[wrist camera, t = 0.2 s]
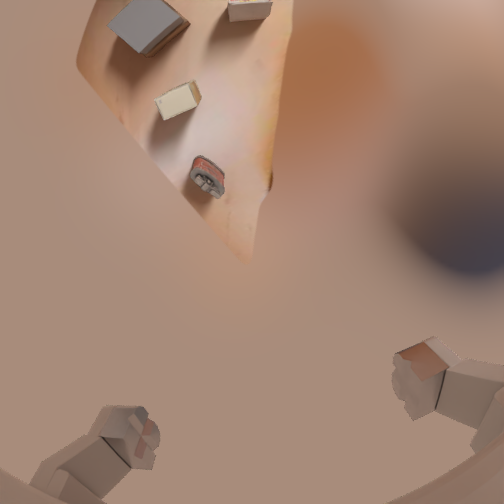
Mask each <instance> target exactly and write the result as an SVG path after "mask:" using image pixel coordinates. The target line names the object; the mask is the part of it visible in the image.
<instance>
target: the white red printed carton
mask: <svg viewBox="0 0 504 504" xmlns="http://www.w3.org/2000/svg"><path fill="white" fill-rule="evenodd" d="M269 1H272V0H228V14H229V21H230V22H235V21H245V20H259V19H266V18H267V17H268V16H269V15H270V11H271V6H272V3H273V2H269Z"/></svg>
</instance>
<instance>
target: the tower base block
mask: <svg viewBox="0 0 504 504" xmlns="http://www.w3.org/2000/svg"><path fill="white" fill-rule="evenodd" d="M161 1H162V2H164V3H165V4H166V5H167V6H168V7H170V8H171V9H172V10H173V11H174V12H175V13H177V14H178V15H179V16H180V17H181V18H182V19H183V20H184V21H183V22H182V23H181V24H180V25H178V26H177V27H176V28H175V29H174V30H172V31H171V32H170V33H169V34H168V35H167V36H165V37H164V38H163V39H162V40H161V41H160V42H159V43H157V44H156V45H155V46H154V47H153V48H152V49H151V50H150V51H149V52H148V53H147V54H145V53H142V54H143V55H144V56H145V57H153V56H154V55H155V54H156V53H157V52H158V51H159V50H160V49H162V48H163V47H164V46H165V45H166V44H167V43H168V42H169V41H171V40H172V39H173V38H174V37H175V36H176V35H178V34H179V33H180V32H181V31H183V30H184V29H185V28H186V27H188V26H189V25H190V23H189V22H188V21H187V20H186V19H185V18H184V17H183V16H182V15H181V14H180V13H178V12H177V11H176V10H175V9H174V8H173V7H171V6H170V5H169V4H168V3H167V2H165V1H164V0H161Z"/></svg>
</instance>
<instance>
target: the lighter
mask: <svg viewBox="0 0 504 504" xmlns="http://www.w3.org/2000/svg"><path fill="white" fill-rule="evenodd" d="M193 164H194V165H193V169H192V171H191V173H190V177H191V179H192V180H193V181H194V182H195V183H196V184H197V185H198V186H199V187H200V188H201V189H202V190H203V191H206V192H208V193H210V194H211V195H213V196H214V197H215V198H217V199H219V198H220V197H221V196H222V195H223V194H224V192H225V188H224V173H223V171H222V170H221V169H220V168H219V167H218V166H217V165H216V164H215V163H213V162H212V161H211V160H209V159H207V158H205V157H204V156H201V155H199V156H197V157H195V159H194V162H193Z"/></svg>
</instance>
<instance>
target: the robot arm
mask: <svg viewBox="0 0 504 504" xmlns="http://www.w3.org/2000/svg"><path fill="white" fill-rule="evenodd" d="M393 364H394V366H395V367H396V369H395V370H394V372H393V373H392V385H393V389H394V391H395V394H396V395H397V397H398V398H399V399H400V400H403V401H405V407H404V408H405V409H406V411H407V413H408V414H409V416H410V417H411V419H412V420H413V421H414V420H416V419H418V418H420V417H423V416H425V415H427V414H429V413H431V412H433V411H435V410H436V412H438V413H440V414H442V415H445V416H447V417H449V418H451V419H454V420H456V421H458V422H461V423H463V424H465V425H468V426H470V427H473V428H475V429H477V432H476V434H475V435H474V437H473V439H472V441H471V444H470V446H471V447H472V449H473V450H474V452H475V454H474V455H473V456H471V457H470V458H468V459H467V460H466V461H464V462H463V463H461V464H460V465H458V466H457V467H455V468H453V469H452V470H450V471H449V472H447V473H445V474H444V475H442V476H440V477H438V478H437V479H435V480H433V481H431V482H429V483H428V484H426V485H424V486H422V487H420V488H418V489H416V490H414V491H412V492H410V493H408V494H406V495H403V496H401V497H399V498H397V499H394V500H392V501H390V502H387V503H385V504H504V365H499V364H493V363H487V362H482V361H477V360H472V359H467V358H465V359H464V360H462V359H460V357H458V356H457V355H456V354H455V353H454V352H453V351H452V350H451V349H450V348H449V347H447V346H446V345H445V344H444V343H443V342H442V341H441V340H440V339H438V338H437V337H435V336H432V337H430V338H428V339H426V340H424V341H422V342H421V343H418V344H416V345H414V346H411V347H409V348H407V349H405V350H402V351H400V352H397V353H395V354H394V357H393ZM159 442H160V432H159V429H158V427H157V425H156V424H155V422H153V421H152V420H150V419H149V418H148V412H147V411H146V410H145V408H144V407H141V406H120V405H117V406H113V405H106V406H104V407H103V408H102V409H101V411H100V413H99V415H98V416H97V418H96V420H95V422H94V423H93V425H92V427H91V429H90V431H89V432H88V434H87V435H83V436H81V437H80V438H78V439H77V440H75V441H74V442H72V443H71V444H69V445H68V446H66V447H64V448H63V449H61V450H60V451H58V452H57V453H55V454H53V455H52V456H50V457H49V458H47V459H45V460H44V461H42V462H41V464H40V466H39V468H38V469H37V471H36V473H35V475H34V476H33V478H32V480H31V482H30V484H27V483H25V482H23V481H21V480H20V479H18V478H16V477H15V476H13V475H11V474H10V473H8V472H6V471H5V470H3V469H2V468H0V504H107V503H105V502H103V501H102V500H101V499H102V498H103V497H104V496H105V495H106V494H107V493H108V492H109V491H111V489H113V488H114V486H115V485H117V484H118V483H119V482H120V481H121V480H122V479H123V478H124V476H126V475H127V473H128V472H129V471H130V470H131V468H132V469H145V470H152V468H153V464H154V461H155V457H156V455H155V453H154V450H155V449H156V448H157V447H158V446H159Z"/></svg>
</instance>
